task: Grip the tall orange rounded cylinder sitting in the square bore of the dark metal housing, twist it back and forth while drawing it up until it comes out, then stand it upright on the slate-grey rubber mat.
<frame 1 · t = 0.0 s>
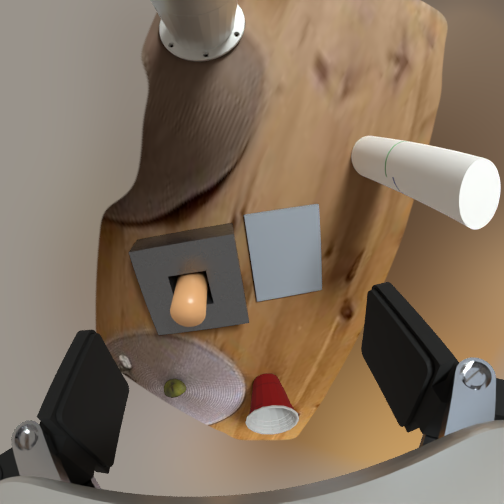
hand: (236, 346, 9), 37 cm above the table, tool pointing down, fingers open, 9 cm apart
housing: (193, 275, 49), on the table
cylindrical container: (369, 156, 44), on the table
lime: (175, 380, 60), on the table
plastic cup: (264, 380, 62), on the table
mat: (286, 254, 49), on the table
orange rounded cylinder: (190, 292, 44), in the housing
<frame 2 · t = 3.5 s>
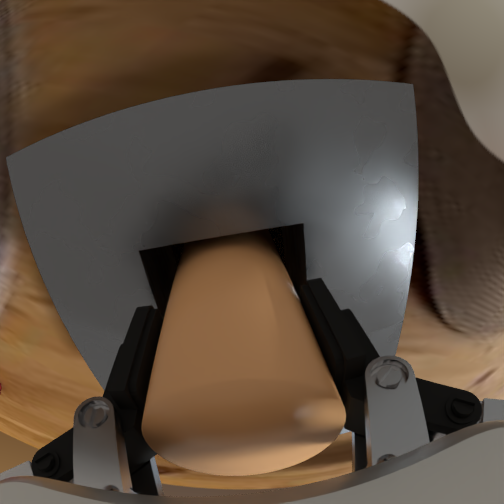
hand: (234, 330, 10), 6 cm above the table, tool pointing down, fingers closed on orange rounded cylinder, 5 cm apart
housing: (229, 254, 16), on the table
orange rounded cylinder: (233, 314, 11), in the housing, touching gripper
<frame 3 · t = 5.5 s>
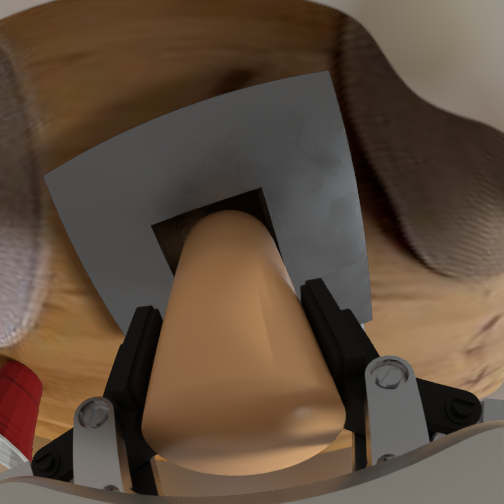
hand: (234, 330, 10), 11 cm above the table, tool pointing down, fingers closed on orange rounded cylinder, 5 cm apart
housing: (222, 226, 20), on the table
plastic cup: (24, 374, 25), on the table
orange rounded cylinder: (233, 313, 11), point 10 cm above the table, touching gripper
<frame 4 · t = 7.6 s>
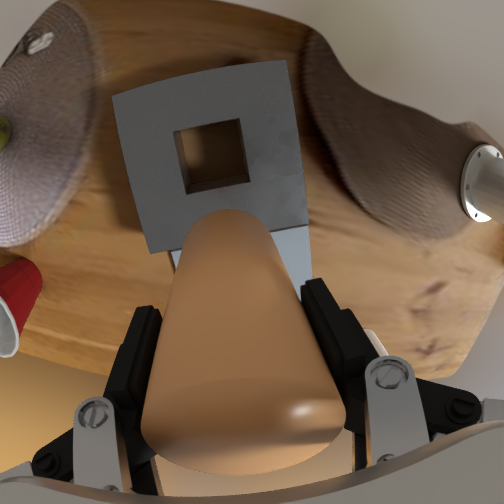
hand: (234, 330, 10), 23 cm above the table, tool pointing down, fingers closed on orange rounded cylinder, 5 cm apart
housing: (213, 152, 29), on the table
lime: (7, 131, 24), on the table
plastic cup: (28, 273, 32), on the table
mat: (247, 281, 36), on the table
orange rounded cylinder: (233, 313, 11), point 22 cm above the table, touching gripper
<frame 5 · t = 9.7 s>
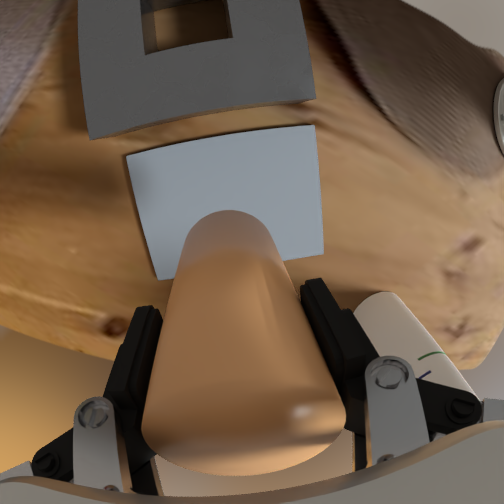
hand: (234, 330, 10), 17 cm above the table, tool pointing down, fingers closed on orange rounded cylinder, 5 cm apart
housing: (191, 30, 18), on the table
cylindrical container: (375, 315, 33), on the table
mat: (229, 203, 25), on the table
orange rounded cylinder: (233, 314, 11), point 16 cm above the table, touching gripper
when the fingers open (8 cm above the table, at t = 11.6 s): orange rounded cylinder drops 1 cm, resting on mat.
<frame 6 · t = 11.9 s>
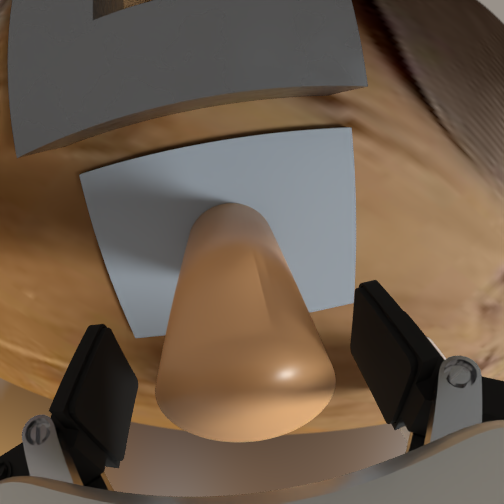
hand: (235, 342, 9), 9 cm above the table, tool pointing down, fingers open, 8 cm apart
mat: (228, 240, 18), on the table
orange rounded cylinder: (235, 295, 12), on the mat, point 6 cm above the table
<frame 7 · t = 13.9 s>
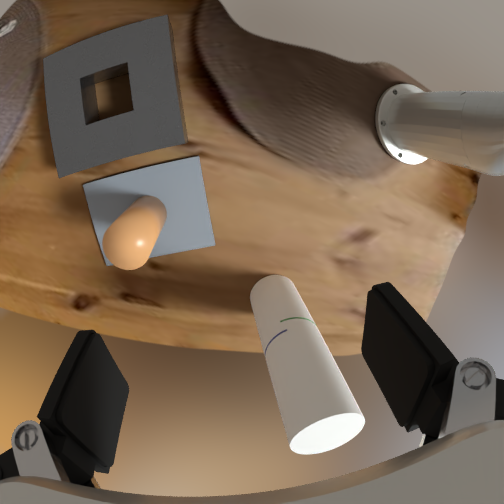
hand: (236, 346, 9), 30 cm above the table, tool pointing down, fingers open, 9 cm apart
housing: (118, 97, 30), on the table
cylindrical container: (272, 294, 44), on the table
mat: (148, 213, 37), on the table
orange rounded cylinder: (138, 227, 31), on the mat, point 6 cm above the table
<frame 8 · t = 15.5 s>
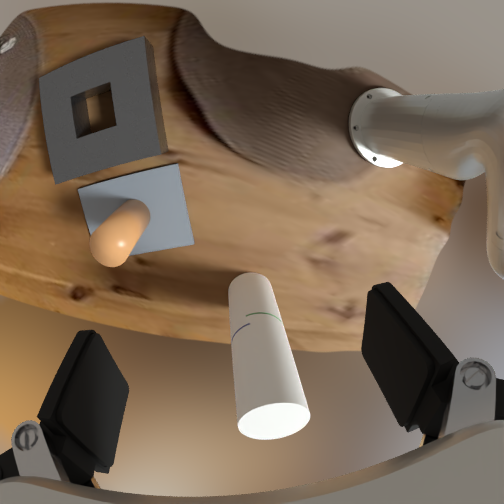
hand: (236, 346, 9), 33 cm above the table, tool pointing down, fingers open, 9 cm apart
housing: (106, 111, 34), on the table
cylindrical container: (250, 291, 48), on the table
mat: (134, 214, 40), on the table
orange rounded cylinder: (122, 229, 35), on the mat, point 6 cm above the table
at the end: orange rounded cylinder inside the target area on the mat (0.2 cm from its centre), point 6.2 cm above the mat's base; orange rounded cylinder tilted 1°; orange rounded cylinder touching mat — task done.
